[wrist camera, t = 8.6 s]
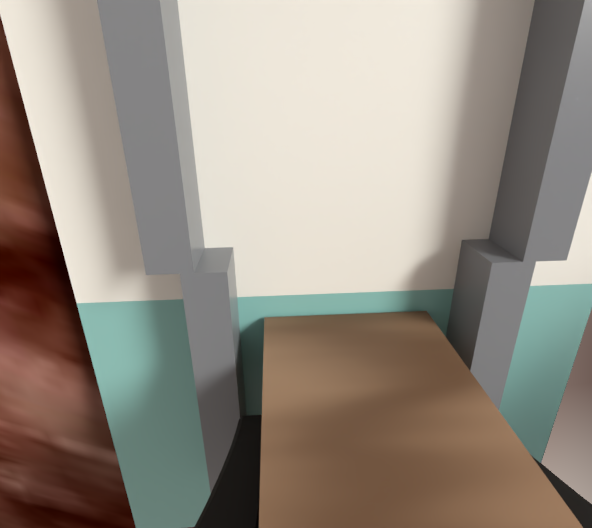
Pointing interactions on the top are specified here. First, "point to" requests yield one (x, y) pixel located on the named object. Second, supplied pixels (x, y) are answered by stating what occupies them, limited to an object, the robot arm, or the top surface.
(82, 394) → the top surface
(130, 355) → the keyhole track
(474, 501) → the walnut block
